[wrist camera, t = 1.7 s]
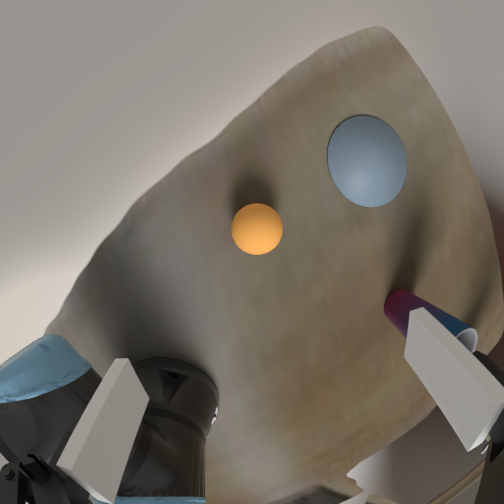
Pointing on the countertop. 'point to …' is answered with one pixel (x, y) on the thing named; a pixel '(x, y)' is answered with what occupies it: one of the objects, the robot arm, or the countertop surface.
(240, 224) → the ball
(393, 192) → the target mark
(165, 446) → the robot arm
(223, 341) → the countertop surface
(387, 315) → the cup
